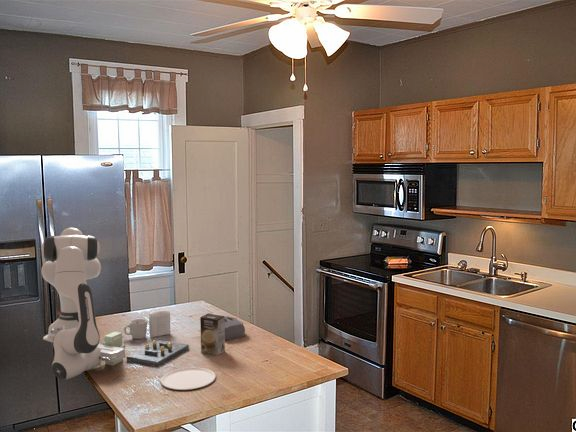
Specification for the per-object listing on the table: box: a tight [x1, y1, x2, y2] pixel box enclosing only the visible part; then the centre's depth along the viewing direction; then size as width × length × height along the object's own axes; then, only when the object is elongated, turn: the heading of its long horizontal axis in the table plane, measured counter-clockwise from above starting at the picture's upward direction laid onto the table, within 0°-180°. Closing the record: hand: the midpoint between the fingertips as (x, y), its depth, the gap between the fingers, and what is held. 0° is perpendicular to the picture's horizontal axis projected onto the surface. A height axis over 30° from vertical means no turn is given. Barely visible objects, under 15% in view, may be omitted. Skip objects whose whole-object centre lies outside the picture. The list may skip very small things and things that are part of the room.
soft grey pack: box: [225, 315, 246, 341], centre depth 256 cm, size 15×8×20 cm
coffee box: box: [199, 313, 226, 356], centre depth 231 cm, size 9×6×16 cm
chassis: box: [126, 339, 190, 368], centre depth 229 cm, size 16×22×5 cm
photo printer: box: [148, 309, 171, 338], centre depth 255 cm, size 10×4×12 cm, turn 123°
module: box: [103, 331, 124, 366], centre depth 220 cm, size 4×6×12 cm
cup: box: [123, 318, 148, 340], centre depth 251 cm, size 11×8×8 cm
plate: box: [160, 366, 217, 391], centre depth 202 cm, size 21×21×1 cm
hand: (114, 345), depth 221 cm, fingers open, 8 cm apart
